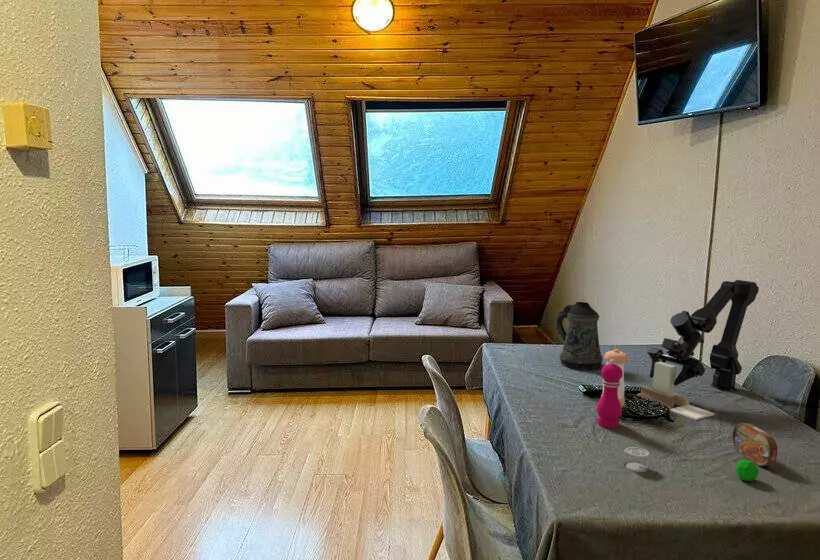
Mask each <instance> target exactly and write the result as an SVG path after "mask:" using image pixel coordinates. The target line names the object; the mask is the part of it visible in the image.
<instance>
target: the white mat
mask: <svg viewBox="0 0 820 560" xmlns="http://www.w3.org/2000/svg"><path fill="white" fill-rule="evenodd" d="M670 411H671V412H673V413H676V414H679V415H682V416H684V417H686V418H688V419H689V418H690V419H693V420H695V421H698V420H701V419H705V418H709V417H712V416H715V413H714V412H711V411H709V410H705V409H704V408H703V409H702V408H700V407H697V406H694V405H691V404H690V403H689V404H688V405H684V406H677V407H674V408H673V409H671V410H670Z"/></svg>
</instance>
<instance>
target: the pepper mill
mask: <svg viewBox="0 0 820 560" xmlns="http://www.w3.org/2000/svg"><path fill="white" fill-rule="evenodd" d="M606 364H607V363H606ZM606 364H605V365H603V366H602V367H601V368H602V369H601V373H600V374H601V377H602V378H603V379H601V380H602V382H601V384H602V386H603V385H604V391H603V390H602V394H603V395H602V394H601V395H602V397H601V396H600V399H599V401H598V402H597V405H596V412H597V414H598V416H597V422H596V423H597V425H599V426H600V427H603V428H609V429H617V428H618V427H620V420H621V419H619V417H621V416H622V414H623V410H622V407H621V404H620V401H619V399H618V387H619V386H620V381H619V380H620V379H621V378H622V375H623V372H622V369H621V368H620V367H619V366H618V365H615V364H616V361H615V360H614V359H611V360H610V364H607V365H606Z"/></svg>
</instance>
